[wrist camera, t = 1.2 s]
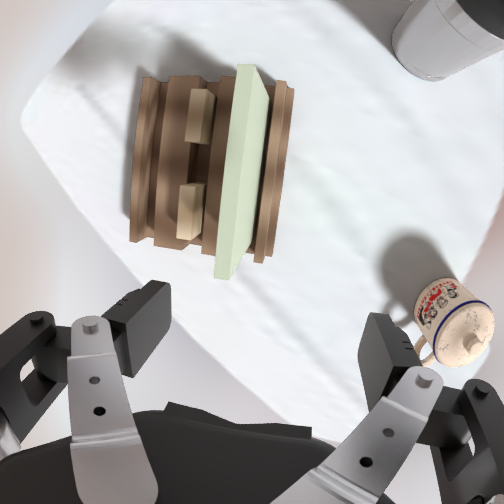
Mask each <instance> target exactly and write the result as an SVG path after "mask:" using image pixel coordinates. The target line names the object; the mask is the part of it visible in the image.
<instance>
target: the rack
mask: <svg viewBox="0 0 504 504" xmlns="http://www.w3.org/2000/svg"><path fill="white" fill-rule="evenodd" d="M235 82H236V77H228V76H221V78H220V83H219V82H206V81H205V80H204V79H203V78H202V77H200V76H170V78H169V82H162V83H161V82H160V81H158V80H156V79H154V78H152V77H145V78H144V79H143V85H142V91H141V98H140V105H139V112H138V120H137V128H136V137H135V147H134V157H133V170H132V184H131V203H130V242H135V243H137V242H139V241H141V240H143V239H144V238H146V237H150V238H154V246H158V247H164V248H170V249H176V250H183V249H184V248H185V247H187V246H188V245H189V244H194V245H200V246H202V251H201V254H206V255H213V256H216V246H217V235H218V225H219V215H220V205H221V196H222V186H223V177H224V168H225V160H226V151H227V143H228V135H229V127H230V119H231V111H232V104H233V96H234V89H235ZM264 87H265V89H266V91H267V94H268V96H269V99H270V101H271V107H270V115H269V123H268V131H267V139H266V146H265V154H264V162H263V170H262V178H261V186H260V194H259V202H258V210H257V218H256V225H255V233H254V238H253V240H252V242H251V244H250V245H249V247H248V249H247V250H246V252H245V253H251V254H254V262H256V263H263V260H264V258H265V256H270V257H272V254H273V248H274V241H275V234H276V227H277V220H278V213H279V206H280V199H281V191H282V184H283V177H284V169H285V162H286V154H287V146H288V139H289V131H290V123H291V115H292V106H293V98H294V89H293V88H287V83H286V81H281V80H277V82H276V87H275V86H265V85H264ZM191 89H207V90H209V91H210V92H211V93H212V94H214V95H215V96H216V97H218V100H217V107H216V114H215V122H214V130H213V138H212V145H204V144H198V143H192V142H186V141H185V133H186V125H187V117H188V109H189V102H190V95H191ZM194 182H205V183H207V193H206V204H205V215H204V226H203V232H201V233H200V234H199V235H197V236H196V237H195V238H193V239H192V240H185V239H178V238H176V236H177V219H178V205H179V193H180V185H185V184H190V183H194Z"/></svg>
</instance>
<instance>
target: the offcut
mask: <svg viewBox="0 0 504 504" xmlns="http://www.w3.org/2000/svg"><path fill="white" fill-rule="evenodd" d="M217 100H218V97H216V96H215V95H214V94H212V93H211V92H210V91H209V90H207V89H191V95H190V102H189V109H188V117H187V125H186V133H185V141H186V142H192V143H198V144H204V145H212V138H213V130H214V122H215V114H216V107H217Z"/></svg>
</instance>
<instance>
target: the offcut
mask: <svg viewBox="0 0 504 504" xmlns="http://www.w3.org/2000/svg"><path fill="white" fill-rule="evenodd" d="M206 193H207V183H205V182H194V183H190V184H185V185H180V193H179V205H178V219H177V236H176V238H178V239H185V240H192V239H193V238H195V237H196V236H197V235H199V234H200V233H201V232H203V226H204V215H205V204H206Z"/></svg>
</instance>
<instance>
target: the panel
mask: <svg viewBox="0 0 504 504" xmlns="http://www.w3.org/2000/svg"><path fill="white" fill-rule="evenodd" d="M270 107H271V101H270V99H269V96H268V94H267V91H266V89H265V87H264V85H263V82H262V80H261V78H260V75H259V73H258V71H257V69H256V66H255V65H247V64H238V68H237V75H236V82H235V89H234V96H233V104H232V111H231V119H230V127H229V135H228V143H227V151H226V160H225V168H224V177H223V186H222V196H221V205H220V215H219V225H218V235H217V246H216V257H215V269H214V278H217V279H223V280H230V278H231V276H232V275H233V273H234V271H235V269H236V268H237V266H238V264H239V263H240V261H241V259H242V257H243V256H244V254H245V252H246V250H247V249H248V247H249V245H250V244H251V242H252V240H253V238H254V233H255V225H256V218H257V210H258V202H259V194H260V186H261V178H262V170H263V162H264V154H265V146H266V139H267V131H268V123H269V115H270Z"/></svg>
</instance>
